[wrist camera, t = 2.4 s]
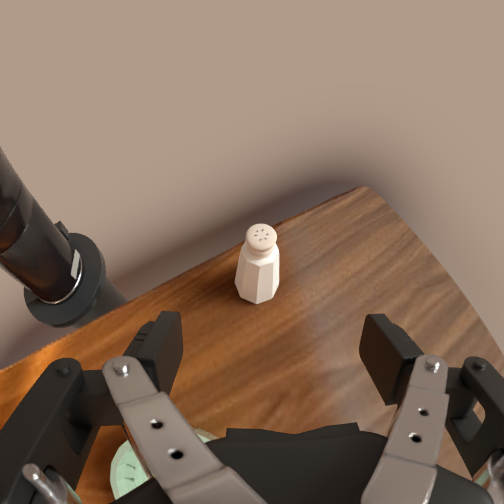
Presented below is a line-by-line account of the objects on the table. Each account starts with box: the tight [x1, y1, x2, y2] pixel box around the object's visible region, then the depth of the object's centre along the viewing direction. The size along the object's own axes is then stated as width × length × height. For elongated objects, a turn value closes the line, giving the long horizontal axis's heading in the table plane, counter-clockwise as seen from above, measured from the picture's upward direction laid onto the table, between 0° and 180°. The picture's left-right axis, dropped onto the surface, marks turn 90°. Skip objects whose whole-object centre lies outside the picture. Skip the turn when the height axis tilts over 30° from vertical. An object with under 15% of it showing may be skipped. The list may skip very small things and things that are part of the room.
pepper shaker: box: [235, 224, 279, 304], centre depth 31 cm, size 5×5×11 cm
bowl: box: [110, 427, 219, 499], centre depth 22 cm, size 14×14×5 cm
